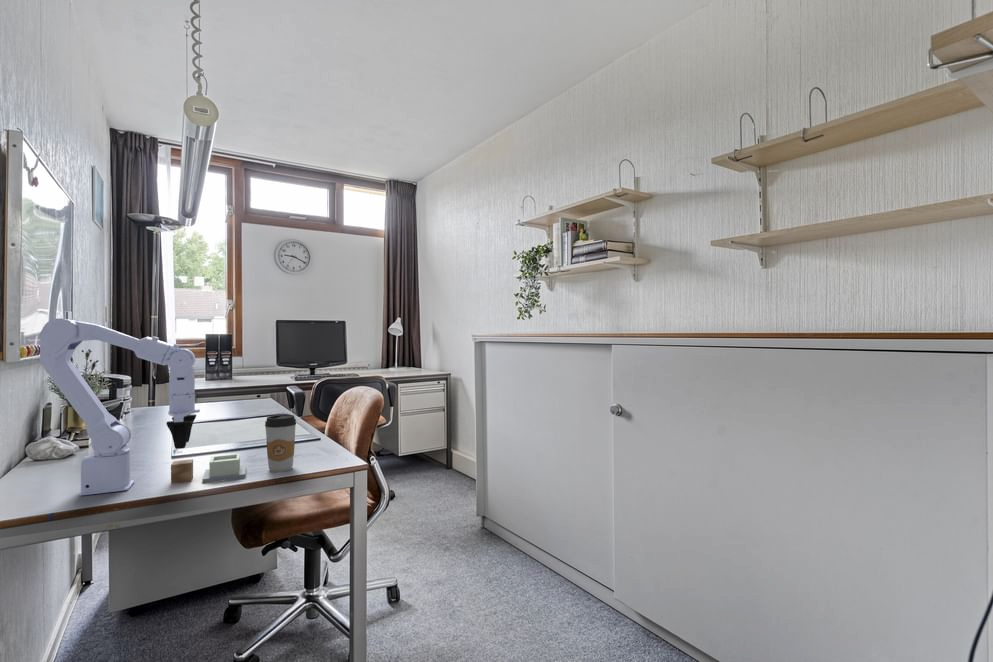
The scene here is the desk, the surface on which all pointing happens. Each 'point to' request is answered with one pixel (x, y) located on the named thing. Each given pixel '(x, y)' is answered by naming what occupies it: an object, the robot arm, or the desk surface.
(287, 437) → the coffee cup
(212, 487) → the desk surface
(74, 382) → the robot arm
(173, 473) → the walnut block
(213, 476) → the socket base
